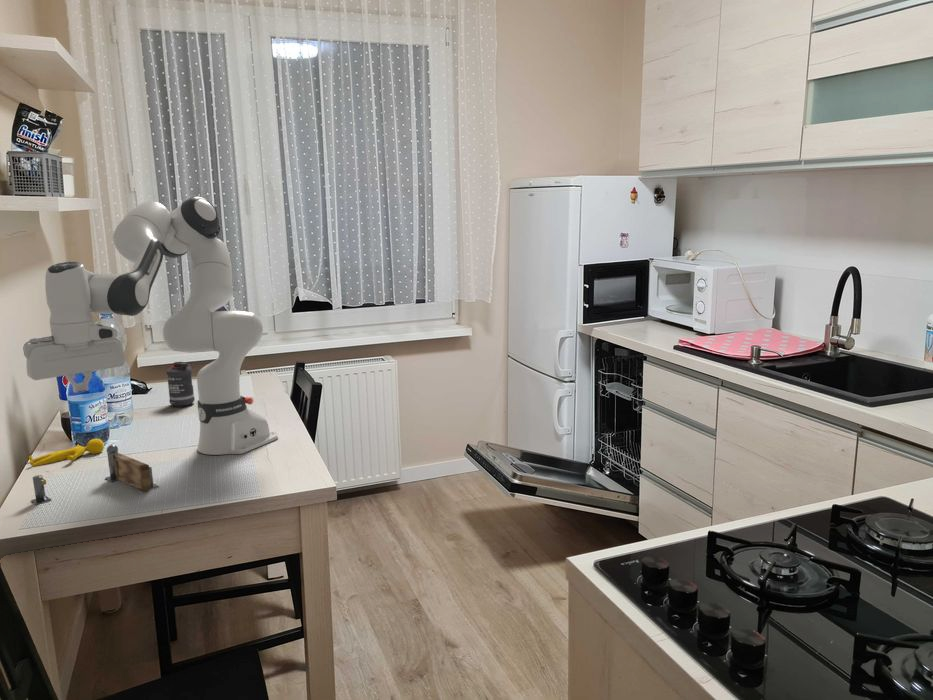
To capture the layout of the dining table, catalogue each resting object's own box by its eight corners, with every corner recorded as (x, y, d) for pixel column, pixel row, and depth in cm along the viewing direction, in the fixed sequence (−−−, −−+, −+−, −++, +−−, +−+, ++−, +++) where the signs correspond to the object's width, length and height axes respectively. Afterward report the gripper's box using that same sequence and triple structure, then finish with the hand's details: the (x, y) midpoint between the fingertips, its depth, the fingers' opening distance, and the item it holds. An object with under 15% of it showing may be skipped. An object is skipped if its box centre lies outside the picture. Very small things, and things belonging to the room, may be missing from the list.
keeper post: (152, 483, 172) (150, 464, 171) (158, 486, 170) (156, 467, 169) (139, 487, 170) (137, 468, 169) (145, 491, 168) (143, 471, 167)
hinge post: (119, 474, 179) (115, 441, 177) (126, 477, 176) (122, 444, 175) (105, 478, 176) (101, 445, 174) (111, 482, 174) (107, 448, 172)
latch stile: (45, 496, 165) (42, 473, 164) (51, 500, 163) (47, 476, 162) (31, 501, 163) (27, 477, 162) (36, 504, 161) (32, 480, 160)
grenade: (200, 403, 242) (196, 361, 239) (181, 409, 235) (177, 366, 232) (183, 400, 246) (179, 359, 243) (164, 406, 239) (160, 363, 236)
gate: (115, 478, 174) (112, 455, 173) (122, 476, 176) (119, 453, 174) (145, 491, 166) (142, 467, 165) (151, 489, 168) (148, 465, 166)
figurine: (26, 448, 191) (98, 429, 200) (30, 463, 192) (102, 444, 202) (29, 462, 180) (105, 442, 190) (34, 479, 181) (109, 458, 191)
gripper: (25, 341, 151) (34, 403, 154) (124, 329, 165) (130, 385, 168) (18, 338, 155) (26, 397, 158) (114, 326, 169) (120, 381, 172)
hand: (81, 391), depth 163 cm, fingers closed
